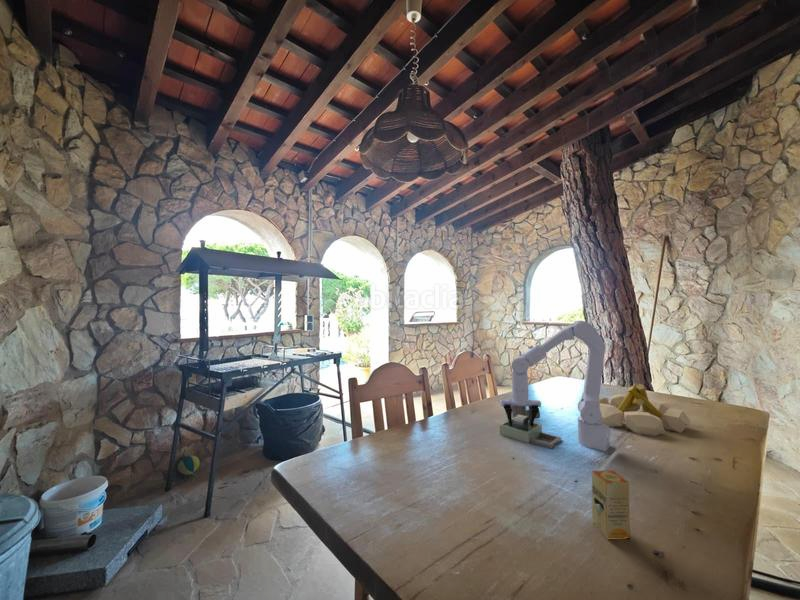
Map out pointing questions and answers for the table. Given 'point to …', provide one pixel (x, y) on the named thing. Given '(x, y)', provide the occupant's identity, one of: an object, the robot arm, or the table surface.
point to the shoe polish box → (610, 504)
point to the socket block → (546, 440)
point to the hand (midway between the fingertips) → (520, 425)
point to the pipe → (522, 411)
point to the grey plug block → (521, 422)
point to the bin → (520, 431)
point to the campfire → (641, 413)
